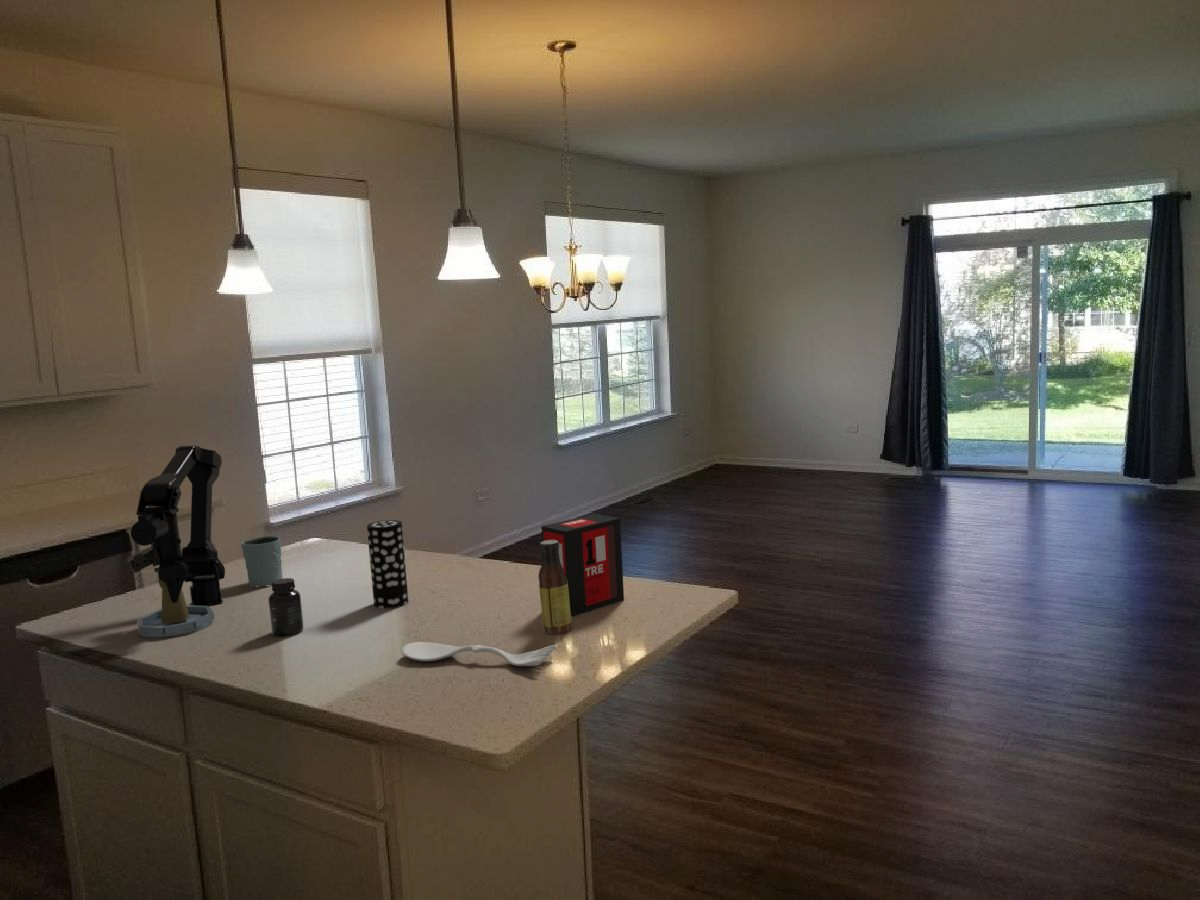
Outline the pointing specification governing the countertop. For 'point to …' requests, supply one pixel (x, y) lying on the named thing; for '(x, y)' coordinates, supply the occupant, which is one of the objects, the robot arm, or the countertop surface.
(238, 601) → the countertop surface
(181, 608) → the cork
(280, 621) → the supplement bottle
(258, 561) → the teal cup
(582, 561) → the cleaning product box
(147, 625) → the dish
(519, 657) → the white spork
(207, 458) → the robot arm
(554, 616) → the sauce bottle
